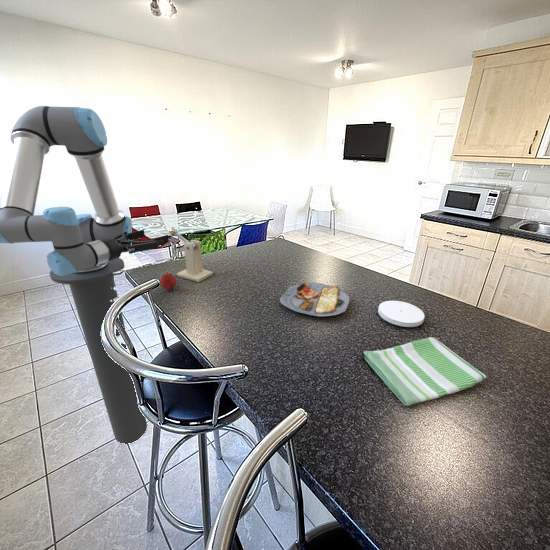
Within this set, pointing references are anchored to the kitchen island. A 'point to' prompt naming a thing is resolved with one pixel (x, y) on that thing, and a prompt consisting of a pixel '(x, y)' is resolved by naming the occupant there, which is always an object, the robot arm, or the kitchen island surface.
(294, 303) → the food plate
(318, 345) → the kitchen island surface
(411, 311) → the plastic lid
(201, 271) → the bracket
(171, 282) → the onion
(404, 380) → the dish towel
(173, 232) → the lever
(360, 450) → the kitchen island surface
